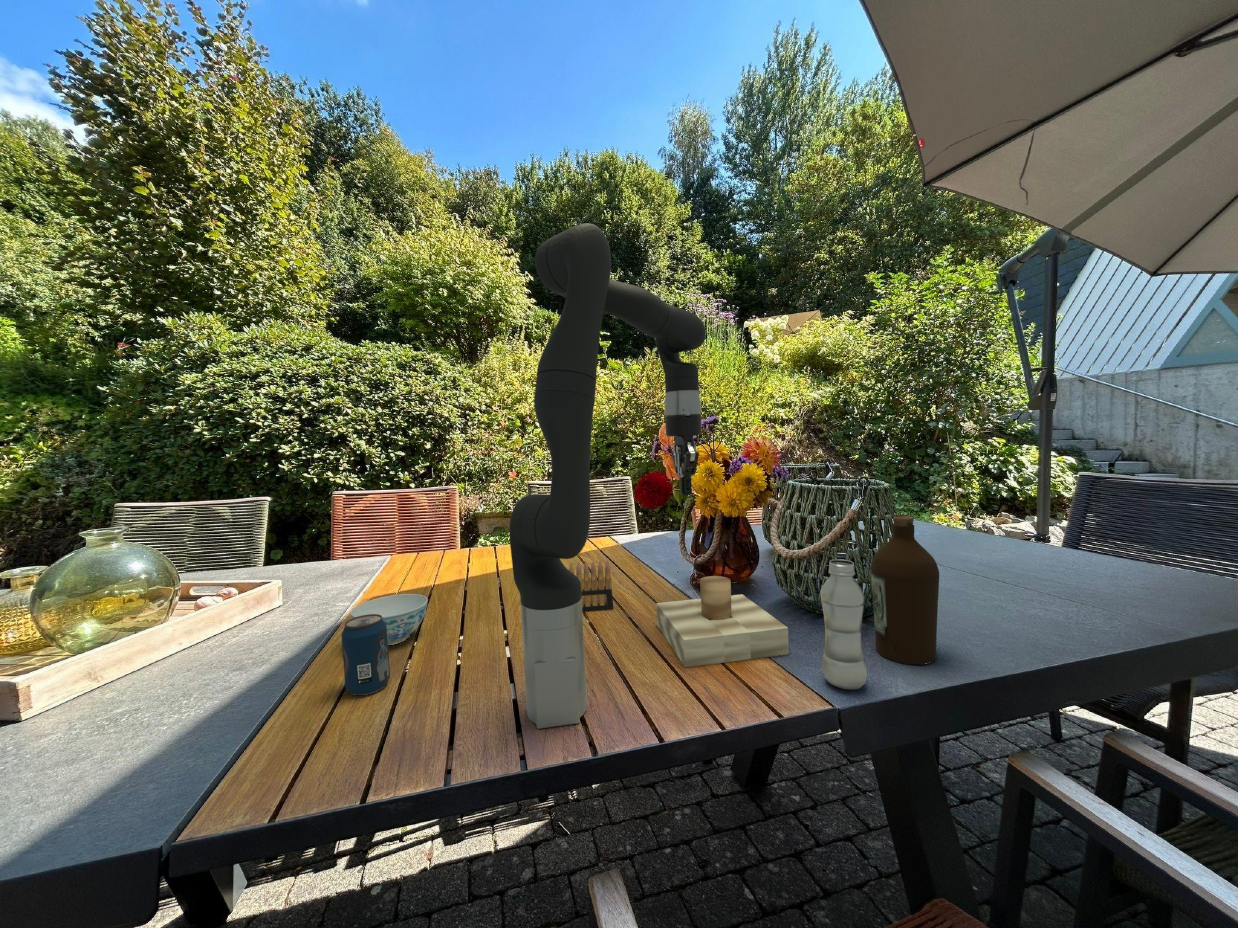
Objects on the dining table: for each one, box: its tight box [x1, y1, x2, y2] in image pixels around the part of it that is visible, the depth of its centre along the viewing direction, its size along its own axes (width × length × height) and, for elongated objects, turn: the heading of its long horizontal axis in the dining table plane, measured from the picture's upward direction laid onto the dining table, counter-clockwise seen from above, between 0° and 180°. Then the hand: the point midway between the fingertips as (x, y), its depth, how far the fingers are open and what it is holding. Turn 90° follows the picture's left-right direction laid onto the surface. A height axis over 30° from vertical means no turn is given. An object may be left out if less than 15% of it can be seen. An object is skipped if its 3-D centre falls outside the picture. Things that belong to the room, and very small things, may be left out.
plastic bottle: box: [820, 559, 868, 691], centre depth 77 cm, size 6×7×20 cm
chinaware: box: [349, 593, 429, 644], centre depth 103 cm, size 15×15×8 cm
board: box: [656, 594, 790, 668], centre depth 97 cm, size 20×20×5 cm
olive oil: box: [870, 515, 940, 665], centre depth 86 cm, size 11×11×25 cm
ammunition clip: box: [568, 560, 614, 613], centre depth 116 cm, size 11×2×12 cm, turn 96°
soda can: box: [341, 614, 391, 696], centre depth 83 cm, size 7×7×12 cm
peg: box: [699, 575, 732, 620], centre depth 96 cm, size 6×6×12 cm
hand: (686, 494), depth 102 cm, fingers closed
